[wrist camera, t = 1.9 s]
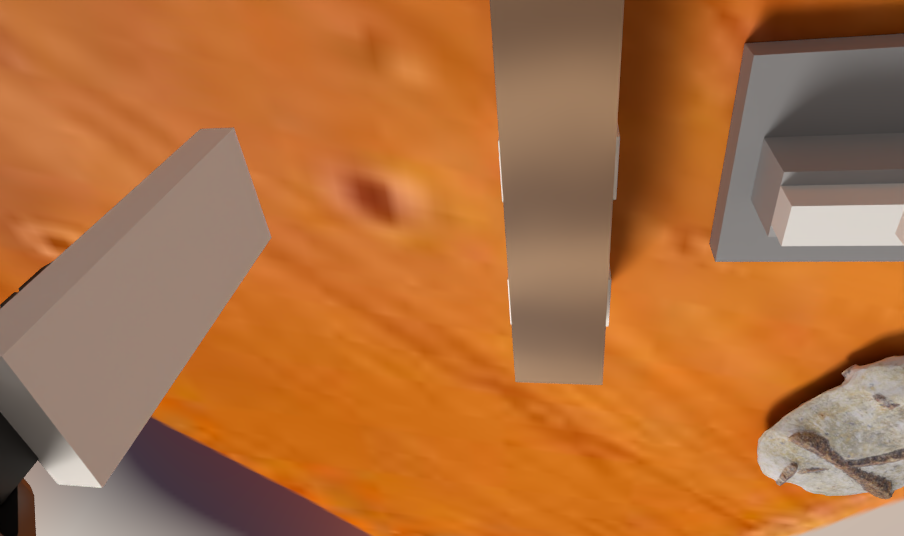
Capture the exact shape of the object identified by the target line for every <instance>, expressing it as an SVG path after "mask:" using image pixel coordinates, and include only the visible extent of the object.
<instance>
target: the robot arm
mask: <svg viewBox="0 0 904 536" xmlns="http://www.w3.org/2000/svg"><path fill="white" fill-rule="evenodd" d="M895 234H896V236H897V237H898V238H899V240H900V241H901V242H902V244H903V245H904V212H903V214H902V217H901V220H900V222H899V225H898V227H897V230H896V232H895ZM270 239H271V235H270V232H269V229H268V226H267V223H266V220H265V217H264V215H263V212H262V209H261V206H260V203H259V200H258V197H257V194H256V191H255V188H254V185H253V182H252V179H251V176H250V173H249V171H248V168H247V165H246V162H245V159H244V156H243V153H242V150H241V147H240V144H239V141H238V138H237V135H236V132H235V129H234V128H213V129H200V130H199V131H198V132H197V133H195V134H194V135H193V136H192V137H191V138H190V139H189V140H188V141H187V142H185V143H184V144H183V145H182V146H181V147H180V148H179V149H178V150H176V151H175V152H174V153H173V154H172V155H171V156H170V157H169V158H168V159H166V160H165V161H164V162H163V163H162V164H161V165H160V166H159V167H158V168H156V169H155V170H154V171H153V172H152V173H151V174H150V175H149V176H148V177H146V178H145V179H144V180H143V181H142V182H141V183H140V184H139V185H138V186H136V187H135V188H134V189H133V190H132V191H131V192H130V193H129V194H128V195H126V196H125V197H124V198H123V199H122V200H121V201H120V202H119V203H118V204H116V205H115V206H114V207H113V208H112V209H111V210H110V211H109V212H108V213H106V214H105V215H104V216H103V217H102V218H101V219H100V220H99V221H98V222H96V223H95V224H94V225H93V226H92V227H91V228H90V229H89V230H88V231H86V232H85V233H84V234H83V235H82V236H81V237H80V238H79V239H78V240H76V241H75V242H74V243H73V244H72V245H71V246H70V247H69V248H68V249H66V250H65V251H64V252H63V253H62V254H61V255H60V256H59V257H58V258H56V259H55V260H54V261H53V262H51V263H49V264H48V265H46V266H44V267H43V268H41V269H40V270H39V271H38V272H36V273H35V274H34V275H33V276H32V277H31V278H30V279H29V280H28V281H26V282H25V283H24V284H23V285H22V286H21V287H20V288H19V292H14V293H13V294H12V295H11V296H10V297H8V298H7V299H6V300H5V301H4V302H3V303H2V304H1V305H0V306H1V307H0V536H36V528H35V507H34V506H35V505H34V494H33V492H32V489H31V487H30V485H29V484H28V483H27V482H26V481H25V480H24V477H25V475H26V474H27V473H28V472H29V470H30V469H31V468H32V467H33V465H34V464H35V463H36V462H37V460H38V461H39V462H40V463H41V464H42V466H43V467H44V468H45V469H46V470H47V472H48V473H49V474H50V475H51V476H52V478H53V479H54V480H55V481H56V482H57V484H60V485H73V486H85V487H98V488H103V486H104V485H105V483H106V482H107V480H108V479H109V477H110V476H111V474H112V473H113V472H114V470H115V469H116V467H117V466H118V464H119V462H120V461H121V460H122V458H123V457H124V455H125V454H126V452H127V451H128V449H129V448H130V446H131V445H132V443H133V442H134V440H135V439H136V437H137V436H138V434H139V433H140V431H141V430H142V429H143V427H144V426H145V424H146V423H147V421H148V420H149V418H150V417H151V415H152V414H153V412H154V411H155V409H156V408H157V406H158V405H159V403H160V402H161V400H162V399H163V397H164V396H165V394H166V393H167V391H168V390H169V388H170V387H171V385H172V384H173V383H174V381H175V380H176V378H177V377H178V375H179V374H180V372H181V371H182V369H183V368H184V366H185V365H186V363H187V362H188V360H189V359H190V357H191V356H192V354H193V353H194V351H195V350H196V348H197V347H198V345H199V344H200V342H201V341H202V340H203V338H204V337H205V335H206V334H207V332H208V331H209V329H210V328H211V326H212V325H213V323H214V322H215V320H216V319H217V317H218V316H219V314H220V313H221V311H222V310H223V308H224V307H225V305H226V304H227V302H228V301H229V299H230V298H231V296H232V295H233V294H234V292H235V291H236V289H237V288H238V286H239V285H240V283H241V282H242V280H243V279H244V277H245V276H246V274H247V273H248V271H249V270H250V268H251V267H252V265H253V264H254V262H255V261H256V259H257V258H258V256H259V255H260V253H261V252H262V250H263V249H264V248H265V246H266V245H267V243H268V242H269V240H270Z"/></svg>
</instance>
